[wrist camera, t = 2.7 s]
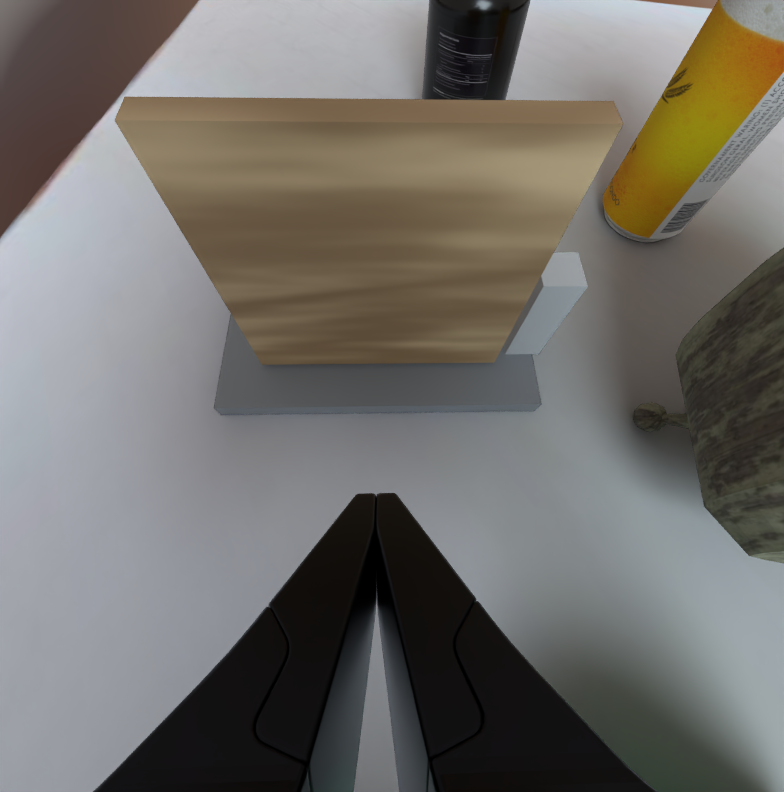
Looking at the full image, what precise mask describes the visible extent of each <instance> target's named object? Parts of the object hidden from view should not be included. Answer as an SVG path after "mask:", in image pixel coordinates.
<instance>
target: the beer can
mask: <svg viewBox="0 0 784 792" xmlns="http://www.w3.org/2000/svg"><path fill="white" fill-rule="evenodd" d="M783 117H784V0H718V1H717V3H716V4H715V6H714V8H713V9H712V11H711V13H710V15H709V16H708V18H707V20H706V21H705V23H704V25H703V26H702V28H701V30H700V31H699V33H698V35H697V37H696V38H695V40H694V42H693V43H692V45H691V47H690V48H689V50H688V52H687V54H686V55H685V57H684V59H683V60H682V62H681V64H680V65H679V67H678V69H677V70H676V72H675V74H674V76H673V77H672V79H671V81H670V82H669V84H668V86H667V87H666V89H665V91H664V93H663V94H662V96H661V98H660V99H659V101H658V103H657V104H656V106H655V108H654V109H653V111H652V113H651V115H650V116H649V118H648V120H647V121H646V123H645V125H644V126H643V128H642V130H641V131H640V133H639V135H638V137H637V138H636V140H635V142H634V143H633V145H632V147H631V148H630V150H629V152H628V154H627V155H626V157H625V159H624V160H623V162H622V164H621V165H620V167H619V169H618V170H617V172H616V174H615V176H614V177H613V179H612V181H611V182H610V184H609V186H608V187H607V189H606V191H605V193H604V195H603V206H604V214H605V218H606V220H607V222H608V223H609V225H610V226H611V227H612V228H613V229H614V230H615V231H616V232H618V233H619V234H621V235H622V236H624V237H626V238H629V239H632V240H635V241H640V242H655V241H659V240H662V239H664V238H669V237H672V236H675V235H677V234H679V233H680V232H681V231H682V230H683V229H684V228H685V227H686V226H687V225H688V224H689V222H690V221H691V220H692V219H693V218H694V217H695V216H696V215H697V213H698V212H699V211H700V210H701V209H702V208H703V207H704V206H705V204H706V203H707V202H708V201H709V200H710V199H711V198H712V197H713V195H714V194H715V193H716V192H717V191H718V190H719V189H720V188H721V186H722V185H723V184H724V183H725V182H726V181H727V180H728V179H729V177H730V176H731V175H732V174H733V173H734V172H735V171H736V170H737V168H738V167H739V166H740V165H741V164H742V163H743V162H744V161H745V159H746V158H747V157H748V156H749V155H750V154H751V153H752V152H753V150H754V149H755V148H756V147H757V146H758V145H759V144H760V143H761V141H762V140H763V139H764V138H765V137H766V136H767V135H768V134H769V132H770V131H771V130H772V129H773V128H774V127H775V126H776V125H777V123H778V122H779V121H780V120H781V119H782V118H783Z"/></svg>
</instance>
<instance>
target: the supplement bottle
mask: <svg viewBox="0 0 784 792" xmlns="http://www.w3.org/2000/svg"><path fill="white" fill-rule="evenodd" d="M529 4H530V0H429V11H428V25H427V39H426V53H425V67H424V81H423V95H422V99H423V100H506V96H507V92H508V88H509V84H510V80H511V76H512V72H513V68H514V64H515V60H516V56H517V52H518V48H519V44H520V40H521V36H522V32H523V28H524V24H525V20H526V16H527V12H528V8H529Z"/></svg>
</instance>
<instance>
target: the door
mask: <svg viewBox="0 0 784 792" xmlns="http://www.w3.org/2000/svg"><path fill="white" fill-rule="evenodd" d="M115 122H116V123H117V125H118V127H119V128H120V130H121V132H122V133H123V135H124V137H125V138H126V140H127V142H128V143H129V145H130V147H131V148H132V150H133V152H134V153H135V155H136V157H137V158H138V160H139V162H140V163H141V165H142V167H143V168H144V170H145V172H146V173H147V175H148V177H149V178H150V180H151V182H152V183H153V185H154V186H155V188H156V190H157V191H158V193H159V195H160V196H161V198H162V200H163V201H164V203H165V205H166V206H167V208H168V210H169V211H170V213H171V215H172V216H173V218H174V220H175V221H176V223H177V225H178V226H179V228H180V230H181V231H182V233H183V235H184V236H185V238H186V240H187V241H188V243H189V245H190V246H191V248H192V250H193V251H194V253H195V255H196V256H197V258H198V259H199V261H200V263H201V264H202V266H203V268H204V269H205V271H206V273H207V274H208V276H209V278H210V279H211V281H212V283H213V284H214V286H215V288H216V289H217V291H218V293H219V294H220V296H221V298H222V299H223V301H224V303H225V304H226V306H227V308H228V309H229V311H230V313H231V314H232V316H233V318H234V319H235V321H236V323H237V324H238V326H239V327H240V329H241V331H242V332H243V334H244V336H245V337H246V339H247V341H248V342H249V344H250V346H251V347H252V349H253V351H254V352H255V354H256V356H257V357H258V359H259V361H260V362H261V364H262V365H285V364H397V363H494V362H495V360H496V358H497V357H498V355H499V353H500V351H501V349H502V347H503V345H504V344H505V342H506V340H507V338H508V336H509V334H510V332H511V331H512V329H513V327H514V325H515V323H516V321H517V320H518V318H519V316H520V314H521V312H522V310H523V308H524V307H525V305H526V303H527V301H528V299H529V297H530V295H531V294H532V292H533V290H534V288H535V286H536V284H537V283H538V281H539V279H540V277H541V275H542V273H543V271H544V270H545V268H546V266H547V264H548V262H549V260H550V259H551V257H552V255H553V253H554V251H555V249H556V247H557V246H558V244H559V242H560V240H561V238H562V236H563V234H564V233H565V231H566V229H567V227H568V225H569V223H570V222H571V220H572V218H573V216H574V214H575V212H576V210H577V209H578V207H579V205H580V203H581V201H582V199H583V198H584V196H585V194H586V192H587V190H588V188H589V186H590V185H591V183H592V181H593V179H594V177H595V175H596V173H597V172H598V170H599V168H600V166H601V164H602V162H603V161H604V159H605V157H606V155H607V153H608V151H609V149H610V148H611V146H612V144H613V142H614V140H615V138H616V137H617V135H618V133H619V131H620V129H621V127H622V125H623V122H622V120H621V118H620V115H619V113H618V110H617V108H616V106H615V103H614V101H532V100H423V99H315V98H206V97H124V100H123V102H122V104H121V107H120V109H119V111H118V113H117V116H116V118H115Z"/></svg>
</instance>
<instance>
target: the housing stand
mask: <svg viewBox="0 0 784 792" xmlns="http://www.w3.org/2000/svg"><path fill="white" fill-rule="evenodd" d="M587 287H588V285H587V281H586V278H585V274H584V271H583V267H582V264H581V260H580V257H579V253H578V252H554V253H553V255H552V257H551V259H550V260H549V262H548V264H547V266H546V268H545V270H544V271H543V273H542V275H541V277H540V279H539V281H538V283H537V284H536V286H535V288H534V290H533V292H532V294H531V295H530V297H529V299H528V301H527V303H526V305H525V307H524V308H523V310H522V312H521V314H520V316H519V318H518V320H517V321H516V323H515V325H514V327H513V329H512V331H511V332H510V334H509V336H508V338H507V340H506V342H505V344H504V345H503V347H502V349H501V351H500V353H499V355H498V357H497V358H496V360H495V362H494V363H397V364H285V365H262V364H261V362H260V361H259V359H258V357H257V356H256V354H255V352H254V351H253V349H252V347H251V346H250V344H249V342H248V341H247V339H246V337H245V336H244V334H243V332H242V331H241V329H240V327H239V326H238V324H237V323H236V321H235V319H234V318H233V316H232V314H231V315H230V321H229V326H228V332H227V338H226V343H225V349H224V354H223V360H222V365H221V371H220V376H219V382H218V387H217V393H216V399H215V404H214V409H215V410H216V411H217V412H218V413H220V414H221V415H242V414H323V413H404V412H485V411H535V410H536V409H537V408H538V407H539V406H540V405H541V399H540V394H539V389H538V383H537V378H536V373H535V368H534V363H533V358H532V354H539V353H540V351H541V350H542V349H543V347H544V346H545V345H546V343H547V342H548V340H549V339H550V338H551V336H552V335H553V334H554V332H555V331H556V329H557V328H558V327H559V325H560V324H561V323H562V321H563V320H564V318H565V317H566V316H567V314H568V313H569V312H570V310H571V309H572V307H573V306H574V305H575V303H576V302H577V301H578V299H579V298H580V296H581V295H582V294H583V292H584V291H585V290H586V288H587Z"/></svg>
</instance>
